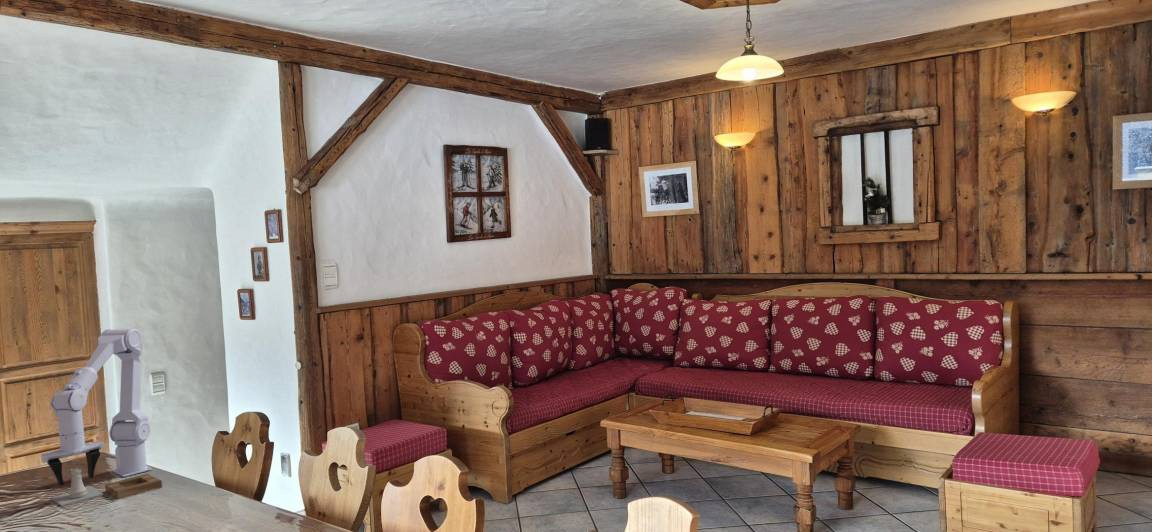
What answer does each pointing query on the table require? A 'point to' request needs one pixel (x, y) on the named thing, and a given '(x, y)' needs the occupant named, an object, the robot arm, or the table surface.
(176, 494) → the table surface
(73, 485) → the rook chess piece
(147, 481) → the square wooden frame
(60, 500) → the slate mat
